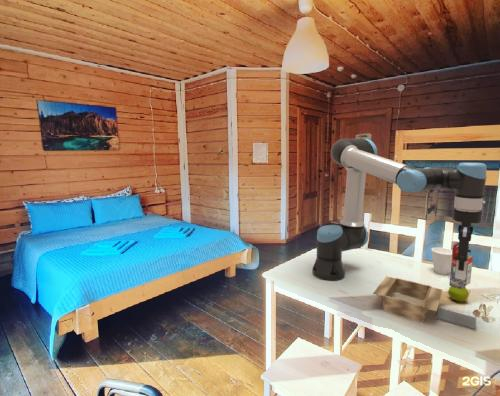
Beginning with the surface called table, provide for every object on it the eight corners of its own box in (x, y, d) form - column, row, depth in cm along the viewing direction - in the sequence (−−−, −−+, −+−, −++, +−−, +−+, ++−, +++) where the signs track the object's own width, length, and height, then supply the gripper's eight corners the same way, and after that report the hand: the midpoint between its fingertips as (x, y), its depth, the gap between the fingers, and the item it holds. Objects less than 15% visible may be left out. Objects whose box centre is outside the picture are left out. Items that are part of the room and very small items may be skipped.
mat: (436, 318, 103) (436, 317, 103) (438, 309, 109) (439, 307, 109) (475, 330, 96) (475, 328, 96) (475, 319, 102) (476, 317, 102)
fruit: (446, 300, 115) (449, 272, 113) (449, 294, 119) (451, 267, 118) (466, 306, 111) (469, 276, 109) (468, 299, 115) (471, 271, 113)
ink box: (470, 283, 101) (475, 243, 99) (460, 289, 97) (465, 247, 94) (458, 279, 104) (462, 240, 102) (448, 285, 100) (452, 244, 97)
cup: (458, 274, 139) (460, 252, 137) (445, 278, 134) (448, 255, 132) (437, 266, 147) (439, 246, 146) (424, 270, 143) (426, 249, 141)
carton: (372, 307, 111) (373, 292, 110) (385, 288, 126) (386, 275, 125) (434, 326, 98) (436, 310, 97) (441, 303, 113) (442, 288, 112)
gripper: (481, 217, 86) (473, 288, 89) (482, 205, 102) (475, 266, 106) (451, 214, 90) (444, 282, 94) (456, 203, 107) (450, 262, 110)
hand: (460, 274), depth 100 cm, fingers closed on ink box, 8 cm apart
